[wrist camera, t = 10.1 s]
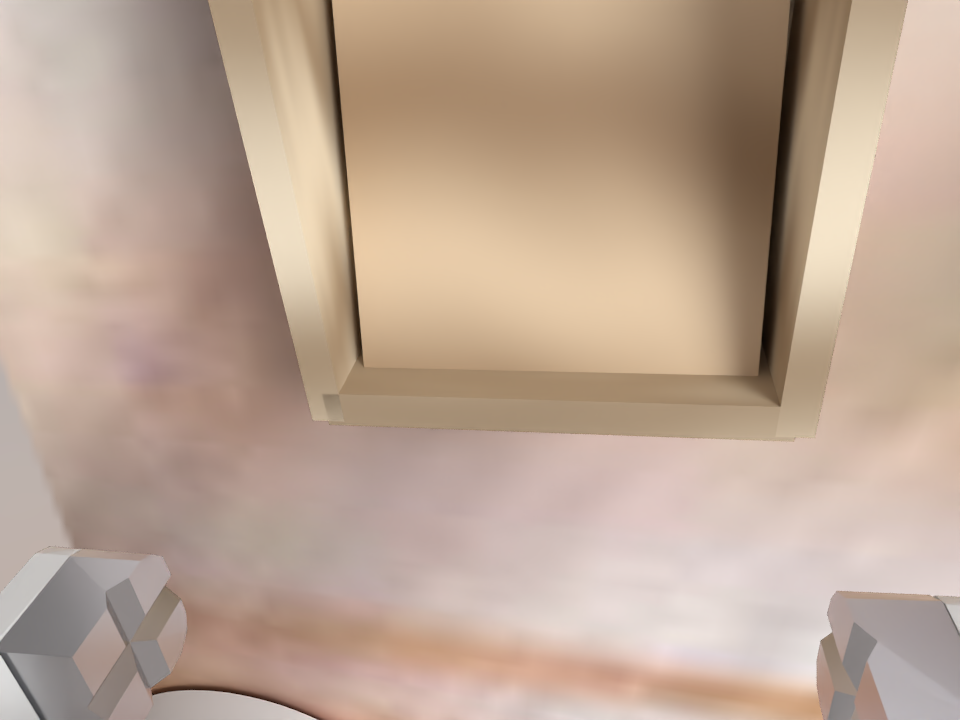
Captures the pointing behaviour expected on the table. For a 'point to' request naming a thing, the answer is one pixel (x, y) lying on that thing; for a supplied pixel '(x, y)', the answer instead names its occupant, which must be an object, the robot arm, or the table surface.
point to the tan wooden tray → (563, 204)
